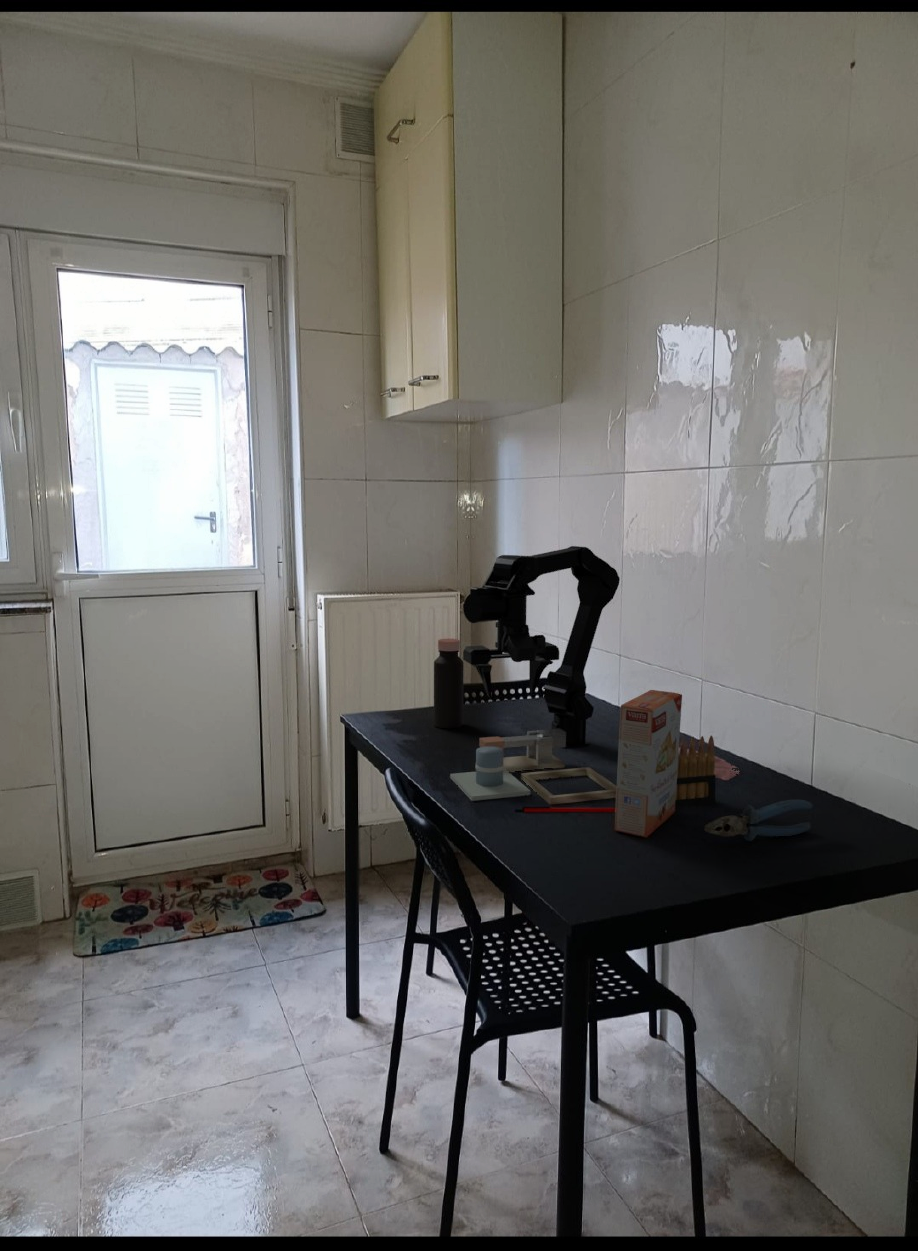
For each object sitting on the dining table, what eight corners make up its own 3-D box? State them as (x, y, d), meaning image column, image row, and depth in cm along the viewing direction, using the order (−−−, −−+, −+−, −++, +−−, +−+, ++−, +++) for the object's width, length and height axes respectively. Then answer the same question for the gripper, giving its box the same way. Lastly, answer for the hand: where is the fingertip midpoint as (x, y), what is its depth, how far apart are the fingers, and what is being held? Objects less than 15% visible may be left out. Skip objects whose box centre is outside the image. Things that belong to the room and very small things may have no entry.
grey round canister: (498, 776, 165) (498, 745, 164) (507, 785, 160) (508, 753, 159) (471, 779, 163) (471, 747, 162) (480, 787, 158) (480, 755, 157)
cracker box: (649, 840, 137) (654, 709, 134) (612, 832, 140) (617, 704, 137) (678, 813, 149) (683, 692, 146) (644, 806, 152) (648, 687, 149)
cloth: (741, 787, 164) (742, 775, 164) (623, 775, 171) (624, 763, 171) (744, 757, 183) (745, 746, 183) (638, 747, 190) (638, 736, 190)
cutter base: (550, 757, 180) (551, 728, 179) (564, 767, 173) (565, 737, 172) (495, 762, 176) (495, 733, 175) (507, 772, 169) (507, 742, 168)
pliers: (709, 852, 133) (711, 814, 132) (700, 847, 135) (702, 810, 134) (813, 835, 140) (816, 799, 139) (804, 830, 142) (806, 795, 141)
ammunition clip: (660, 808, 151) (663, 740, 149) (655, 804, 153) (658, 737, 151) (715, 803, 154) (719, 736, 152) (709, 799, 156) (713, 733, 154)
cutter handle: (559, 742, 178) (559, 728, 177) (566, 747, 174) (566, 732, 174) (479, 749, 173) (479, 734, 172) (485, 754, 169) (485, 739, 169)
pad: (505, 773, 169) (505, 769, 169) (530, 795, 157) (530, 790, 157) (450, 778, 166) (450, 773, 166) (471, 801, 154) (471, 796, 154)
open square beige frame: (588, 773, 170) (588, 767, 169) (622, 797, 156) (623, 790, 156) (520, 779, 165) (520, 773, 165) (550, 804, 152) (550, 798, 152)
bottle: (445, 720, 208) (445, 636, 205) (468, 724, 204) (469, 639, 201) (427, 726, 203) (428, 640, 200) (451, 730, 199) (452, 643, 196)
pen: (514, 812, 149) (514, 805, 149) (626, 812, 150) (626, 805, 150) (515, 814, 149) (515, 807, 148) (627, 813, 149) (627, 807, 149)
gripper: (480, 626, 165) (480, 707, 167) (571, 622, 170) (569, 701, 173) (462, 618, 175) (462, 694, 178) (548, 614, 181) (547, 689, 183)
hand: (510, 695), depth 177 cm, fingers open, 9 cm apart
